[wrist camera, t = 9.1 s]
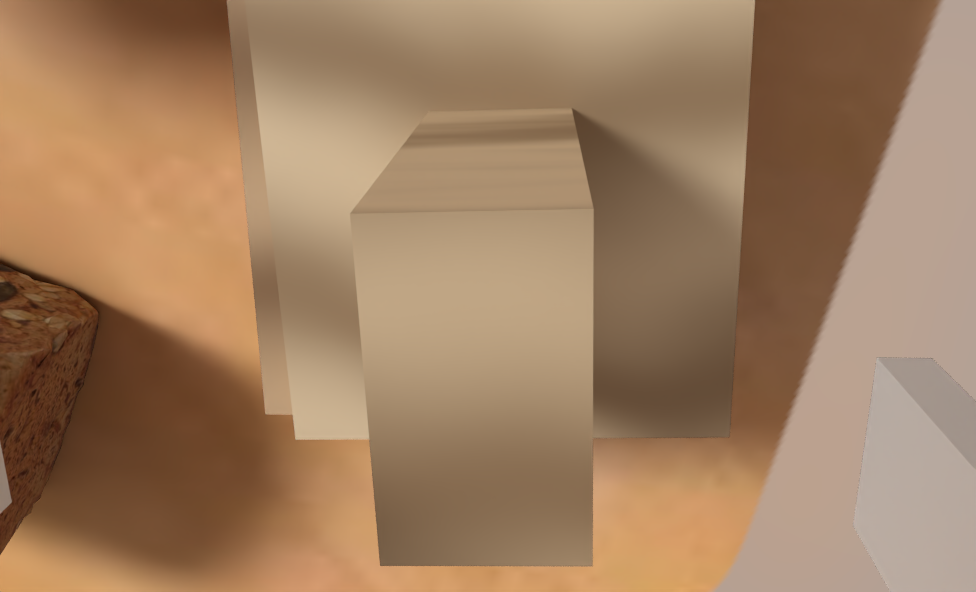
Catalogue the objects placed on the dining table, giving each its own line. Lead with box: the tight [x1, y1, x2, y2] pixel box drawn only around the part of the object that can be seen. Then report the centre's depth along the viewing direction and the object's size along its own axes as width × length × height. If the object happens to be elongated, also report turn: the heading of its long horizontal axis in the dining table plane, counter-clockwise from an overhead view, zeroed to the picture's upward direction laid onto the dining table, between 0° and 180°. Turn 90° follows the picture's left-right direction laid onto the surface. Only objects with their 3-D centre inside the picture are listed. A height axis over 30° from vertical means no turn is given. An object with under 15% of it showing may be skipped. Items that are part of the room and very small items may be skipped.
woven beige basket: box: [227, 0, 293, 415], centre depth 25 cm, size 20×22×14 cm
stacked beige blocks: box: [245, 0, 755, 566], centre depth 18 cm, size 20×12×11 cm, turn 2°
